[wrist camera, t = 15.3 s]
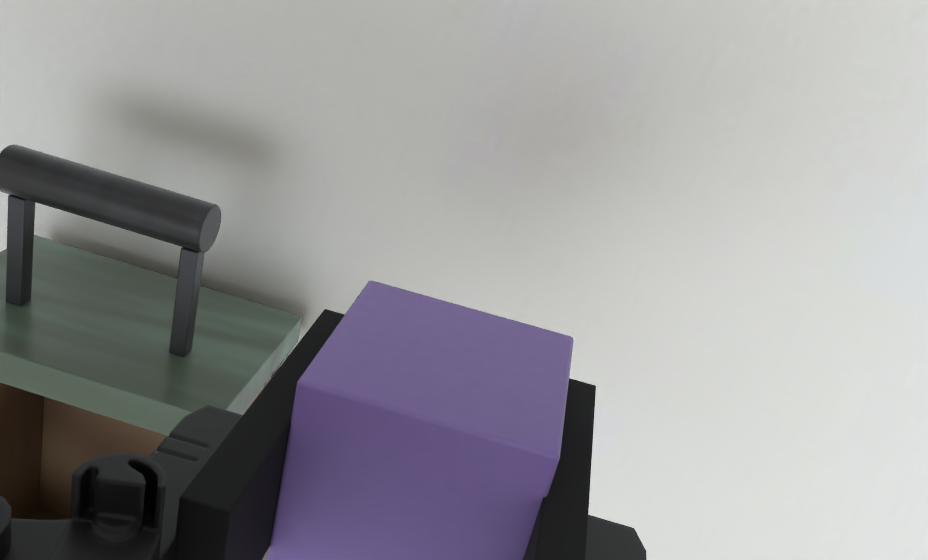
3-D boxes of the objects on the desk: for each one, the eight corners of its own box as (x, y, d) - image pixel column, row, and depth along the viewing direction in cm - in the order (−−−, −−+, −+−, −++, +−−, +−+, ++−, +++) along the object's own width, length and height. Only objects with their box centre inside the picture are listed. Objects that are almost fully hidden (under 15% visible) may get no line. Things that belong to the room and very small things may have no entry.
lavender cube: (369, 278, 18) (296, 379, 14) (574, 335, 18) (560, 456, 14) (335, 449, 20) (262, 583, 16) (521, 504, 19) (495, 655, 15)
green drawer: (39, 98, 32) (-126, 147, 25) (327, 184, 32) (241, 258, 24) (23, 497, 40) (-107, 620, 33) (254, 572, 39) (172, 715, 32)
